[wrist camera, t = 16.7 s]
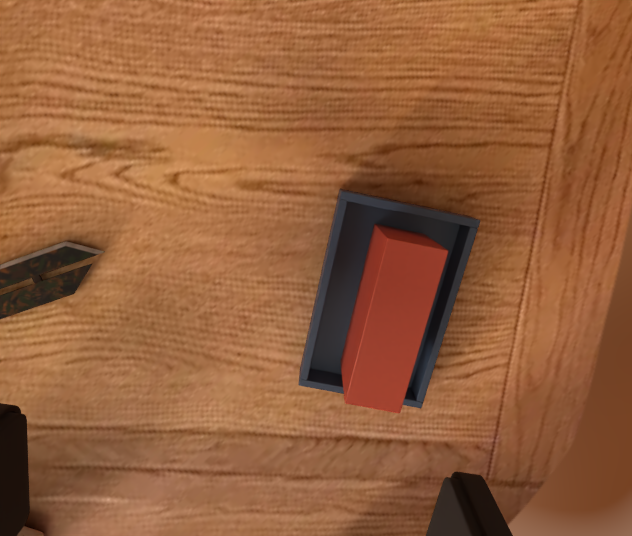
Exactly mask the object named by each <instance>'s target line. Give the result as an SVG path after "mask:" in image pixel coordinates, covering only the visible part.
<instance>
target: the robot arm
mask: <svg viewBox="0 0 632 536" xmlns="http://www.w3.org/2000/svg"><path fill="white" fill-rule="evenodd" d="M29 510H30V506H29V476H28V445H27V419H26V416H25V415H24V414H21V410H20V408H19V407H18V406H15V405H8V404H1V403H0V536H17V535H18V533H19V532H20V531H21V529H22V528H23V527H24V525H25V523H26V521H27V518H28V515H29ZM426 536H513V535H512V533H511V531H510V529H509V527H508V525H507V523H506V522H505V520H504V518H503V516H502V514H501V512H500V510H499V508H498V506H497V504H496V502H495V500H494V498H493V496H492V494H491V492H490V490H489V488H488V486H487V484H486V482H485V480H484V479H483V477H482V476H480V475H475V474H469V473H462V472H454V473H453V474H452V476H451V478H448V477H446V478H445V479H444V481H443V484H442V487H441V490H440V493H439V496H438V499H437V502H436V505H435V509H434V512H433V515H432V518H431V521H430V524H429V527H428V530H427V534H426Z"/></svg>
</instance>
